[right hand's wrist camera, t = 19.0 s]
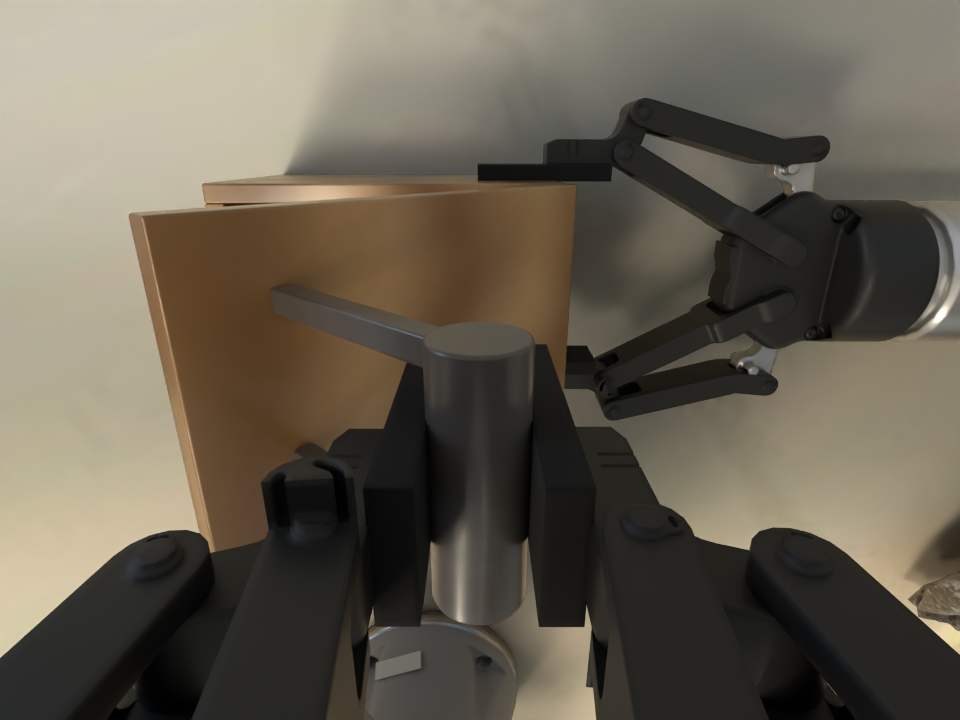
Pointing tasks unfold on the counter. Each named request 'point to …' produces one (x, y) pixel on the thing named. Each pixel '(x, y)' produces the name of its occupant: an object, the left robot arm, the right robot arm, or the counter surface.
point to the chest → (341, 187)
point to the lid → (367, 354)
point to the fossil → (940, 600)
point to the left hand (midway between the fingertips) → (477, 271)
